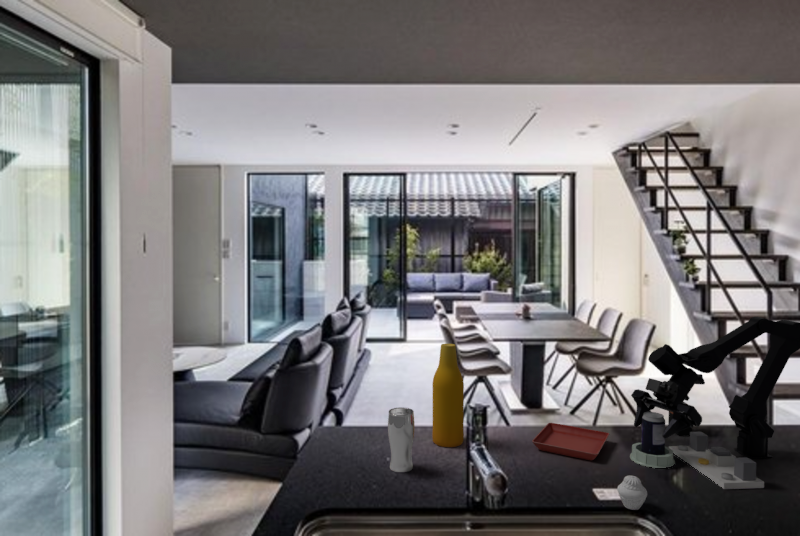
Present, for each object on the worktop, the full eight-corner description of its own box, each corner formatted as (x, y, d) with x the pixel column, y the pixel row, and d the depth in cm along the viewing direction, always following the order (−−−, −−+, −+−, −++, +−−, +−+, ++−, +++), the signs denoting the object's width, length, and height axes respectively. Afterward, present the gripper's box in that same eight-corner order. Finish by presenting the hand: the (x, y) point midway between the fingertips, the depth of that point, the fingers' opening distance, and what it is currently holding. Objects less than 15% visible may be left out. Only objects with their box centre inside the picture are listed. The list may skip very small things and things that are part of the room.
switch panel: (669, 451, 149) (669, 431, 149) (703, 450, 150) (703, 430, 150) (724, 489, 126) (724, 465, 126) (764, 487, 127) (764, 464, 127)
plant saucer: (597, 465, 141) (597, 453, 141) (530, 452, 150) (531, 440, 150) (610, 443, 156) (610, 432, 156) (548, 432, 166) (548, 422, 165)
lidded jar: (629, 515, 114) (630, 483, 114) (611, 501, 120) (611, 471, 120) (653, 511, 116) (654, 480, 116) (634, 498, 122) (634, 468, 122)
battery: (681, 428, 168) (682, 397, 167) (692, 436, 161) (693, 404, 161) (667, 428, 168) (668, 397, 168) (677, 436, 161) (678, 403, 161)
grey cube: (722, 458, 140) (722, 446, 140) (730, 463, 137) (730, 451, 137) (710, 458, 140) (710, 447, 140) (718, 463, 136) (718, 451, 136)
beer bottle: (429, 446, 154) (429, 346, 152) (436, 435, 163) (436, 341, 161) (460, 449, 151) (460, 348, 150) (466, 438, 160) (466, 342, 159)
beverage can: (662, 455, 145) (663, 412, 145) (666, 463, 140) (666, 419, 139) (640, 453, 147) (641, 410, 146) (642, 461, 142) (643, 416, 141)
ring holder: (660, 451, 149) (660, 441, 149) (683, 468, 138) (684, 456, 138) (622, 452, 148) (622, 442, 148) (642, 469, 137) (643, 458, 137)
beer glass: (418, 464, 141) (418, 409, 140) (407, 475, 134) (407, 417, 134) (394, 460, 144) (394, 405, 143) (383, 470, 137) (383, 413, 137)
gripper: (636, 361, 152) (606, 403, 148) (695, 375, 135) (663, 424, 131) (655, 385, 156) (627, 427, 152) (715, 402, 139) (685, 450, 135)
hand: (648, 431), depth 142 cm, fingers open, 9 cm apart
